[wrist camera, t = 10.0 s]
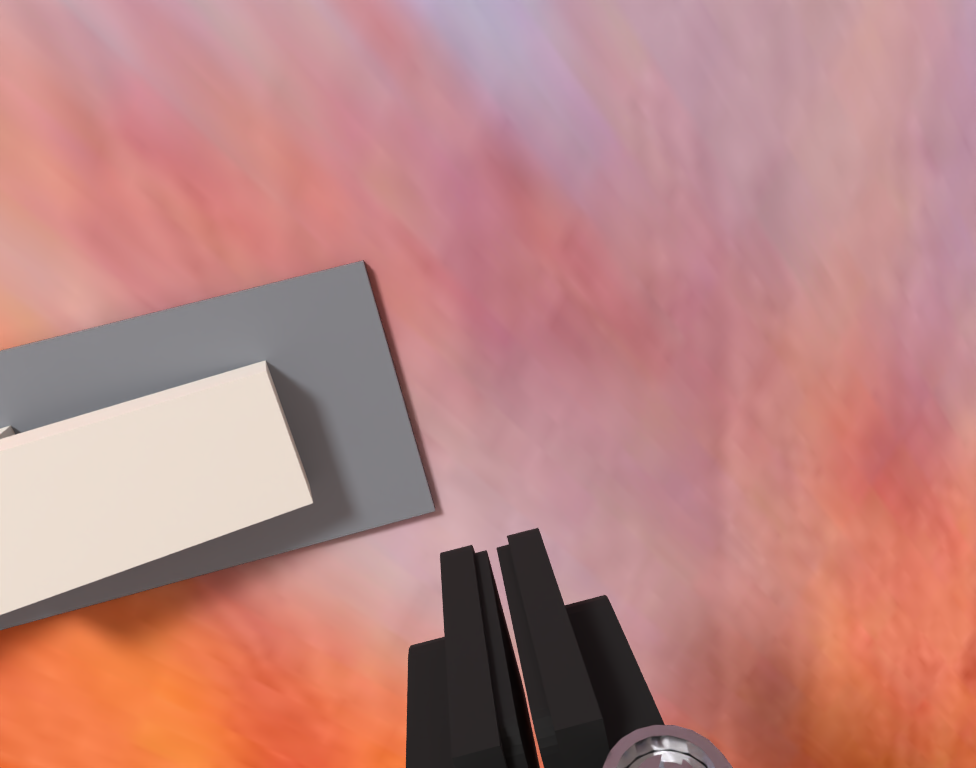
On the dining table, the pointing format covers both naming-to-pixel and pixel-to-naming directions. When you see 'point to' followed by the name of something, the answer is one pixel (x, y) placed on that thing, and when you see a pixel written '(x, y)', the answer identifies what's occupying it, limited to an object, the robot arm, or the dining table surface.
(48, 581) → the domino
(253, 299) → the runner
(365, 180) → the dining table surface
